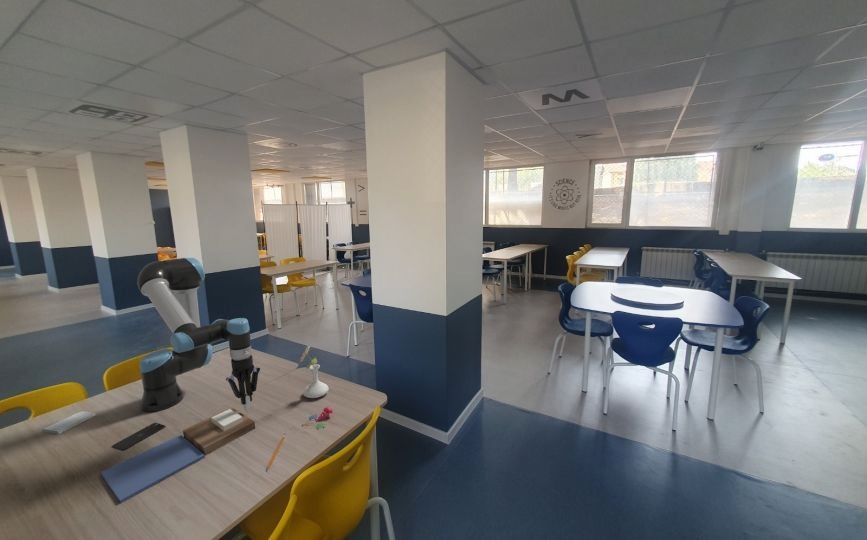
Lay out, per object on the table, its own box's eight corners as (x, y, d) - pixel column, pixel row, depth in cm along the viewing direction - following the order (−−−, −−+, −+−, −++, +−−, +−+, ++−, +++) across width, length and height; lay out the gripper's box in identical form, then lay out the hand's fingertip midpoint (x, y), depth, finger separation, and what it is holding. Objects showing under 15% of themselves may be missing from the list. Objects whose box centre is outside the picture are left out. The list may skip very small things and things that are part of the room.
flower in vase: (314, 385, 166) (311, 338, 162) (333, 390, 162) (330, 341, 158) (295, 399, 154) (290, 348, 150) (315, 404, 150) (311, 351, 146)
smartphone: (110, 445, 124) (154, 421, 138) (110, 447, 124) (155, 423, 138) (123, 450, 122) (167, 425, 136) (123, 452, 122) (167, 427, 136)
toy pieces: (317, 410, 146) (316, 401, 145) (337, 416, 142) (337, 407, 141) (295, 426, 135) (294, 416, 134) (317, 433, 131) (316, 423, 130)
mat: (101, 474, 111) (100, 472, 111) (181, 436, 129) (180, 434, 129) (120, 503, 100) (120, 500, 100) (204, 457, 118) (204, 454, 118)
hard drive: (58, 431, 131) (95, 412, 143) (42, 429, 133) (80, 410, 145) (59, 435, 132) (95, 416, 144) (43, 432, 133) (80, 414, 145)
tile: (211, 422, 133) (211, 417, 133) (230, 413, 139) (229, 408, 139) (224, 430, 128) (223, 426, 127) (243, 421, 133) (242, 416, 133)
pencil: (283, 434, 130) (264, 472, 111) (284, 432, 130) (265, 469, 111) (285, 435, 130) (266, 473, 112) (286, 433, 130) (268, 470, 111)
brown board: (183, 437, 129) (182, 430, 128) (232, 413, 144) (231, 407, 143) (205, 455, 119) (204, 447, 119) (255, 428, 134) (254, 421, 133)
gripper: (229, 365, 128) (236, 420, 132) (262, 353, 139) (267, 405, 143) (219, 360, 132) (226, 414, 137) (252, 349, 143) (258, 399, 147)
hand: (247, 409), depth 140 cm, fingers closed
